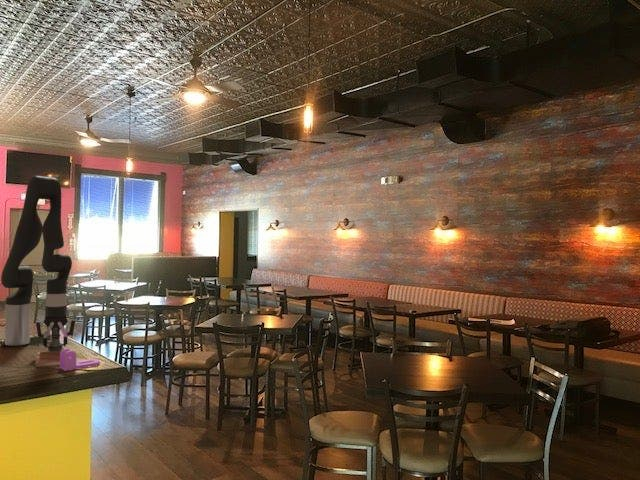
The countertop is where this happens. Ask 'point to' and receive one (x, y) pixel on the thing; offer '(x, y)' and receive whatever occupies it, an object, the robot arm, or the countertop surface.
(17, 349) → the countertop surface
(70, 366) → the bracket
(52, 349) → the salt shaker
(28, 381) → the countertop surface
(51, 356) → the shaker holder
